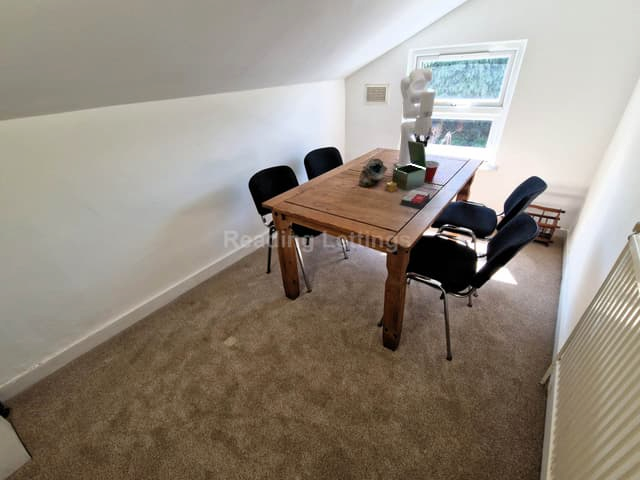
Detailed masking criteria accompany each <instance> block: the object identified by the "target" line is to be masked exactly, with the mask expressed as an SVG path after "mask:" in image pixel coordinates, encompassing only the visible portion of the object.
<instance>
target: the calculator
mask: <svg viewBox="0 0 640 480" xmlns="http://www.w3.org/2000/svg"><path fill="white" fill-rule="evenodd" d="M430 196H431V193H430V192H427V191H421V190H415V189H410V191H409V192H408V193H407V194H406V195H405V196H404V197H403V198H402V199H401V200H400V205H401V206H405V207H411V208H414V209H419V210H420V209H421V208H422V207H423V206H424V205H425V204H426V203H427V202H428V201H429V200H430Z"/></svg>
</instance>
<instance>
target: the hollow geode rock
mask: <svg viewBox="0 0 640 480" xmlns="http://www.w3.org/2000/svg"><path fill="white" fill-rule="evenodd" d="M387 171H388V167H387V166H386V165H384V161H382V160H381V159H380V158H372V159H369V161H368V163H367V164H365V165H364V166H362V170H361V173H360V174H359V180H358V181H359V183H360V185H361V186H362V187H367V186H370V187H372V186H373V184H374V183H375V182H376V181H380V179H382V178H383V176H384V174H385V173H386V172H387Z"/></svg>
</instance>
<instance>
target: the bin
mask: <svg viewBox="0 0 640 480" xmlns="http://www.w3.org/2000/svg"><path fill="white" fill-rule="evenodd" d="M425 172H426V169H425V168H423V167H420V166H417V165H414V164H409V165H405V166H402V167H398V166H397V167H395V168H393V169H392V178H391V182H394V183H396V184H397V186H396V188H399V189H401V190H403V191H409V190H410V191H411V190H414V189H416V188H419V187H422V186H424V183H425V181H424V179H425Z"/></svg>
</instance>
